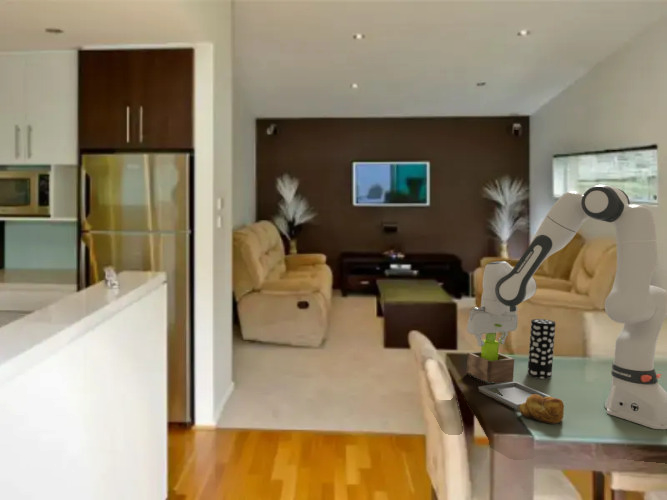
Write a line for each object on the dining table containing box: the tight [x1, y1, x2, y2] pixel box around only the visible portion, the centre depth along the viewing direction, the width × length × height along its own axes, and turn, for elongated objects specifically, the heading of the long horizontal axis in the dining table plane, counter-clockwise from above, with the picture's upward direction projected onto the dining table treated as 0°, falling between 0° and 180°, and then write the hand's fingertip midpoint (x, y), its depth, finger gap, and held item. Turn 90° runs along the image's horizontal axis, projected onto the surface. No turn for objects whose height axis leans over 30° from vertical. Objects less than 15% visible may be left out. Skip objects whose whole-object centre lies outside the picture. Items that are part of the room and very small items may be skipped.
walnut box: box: [466, 350, 515, 384], centre depth 221 cm, size 12×11×8 cm
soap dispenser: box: [480, 324, 502, 361], centre depth 220 cm, size 6×7×20 cm
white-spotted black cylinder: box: [527, 318, 556, 380], centre depth 225 cm, size 8×8×20 cm
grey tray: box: [478, 381, 555, 411], centre depth 201 cm, size 18×16×2 cm
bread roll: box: [518, 394, 565, 425], centre depth 183 cm, size 13×10×8 cm
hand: (491, 344), depth 220 cm, fingers open, 8 cm apart
